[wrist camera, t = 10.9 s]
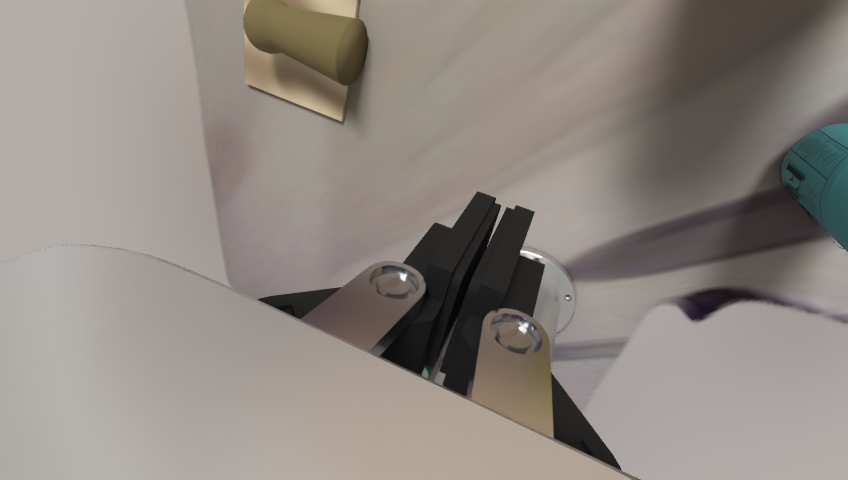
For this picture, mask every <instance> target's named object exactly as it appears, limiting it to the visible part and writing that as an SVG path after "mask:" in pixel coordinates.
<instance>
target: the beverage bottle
mask: <svg viewBox="0 0 848 480" xmlns="http://www.w3.org/2000/svg"><path fill="white" fill-rule="evenodd" d="M781 167H782V171H781V169H780V172H782V180H783V183H784V185H785V187H786V188H787V189H788V190H789V191H790V193H791V194H792V195H793V196H794V197H795V198H796V199H797V200H798V201H799V202H800V203H801V204H802V208H804V210H805V211H806V212H807V214H808V215H809V216H810V217H811V218H812V216H813V217H814V218H812V219H816V220H817V221H818V222H819V223H820V224H821V225H822V226H823V227H824V228H825V230H827V231H828V232H829V233H830V234H831V236H832V237H833V238H834V239H835V240H836V241H837V242H838V243H839V244H840V245H841V246H842V247H843V249H845V250H846V251H847V252H848V123H843V124H835V125H830V126H826V127H823V128H820V129H818V130H815V131H813V132H811V133H809V134H808V135H806V136H804V137H803V138H802V139H800V140H799V141H798V142H797V143H796V144H795V145H794V146H793V147H792V148H791V149H790V150H789V152H788V153H787V155H786V156H785V158H784V160H783V163H782V165H781ZM780 180H781V177H780ZM782 186H783V185H782ZM785 187H783V188H785ZM787 189H786V190H787ZM786 190H785V191H786ZM787 192H788V191H787ZM789 195H790V194H789ZM796 203H797V202H796ZM797 204H798V203H797ZM801 204H800V205H801ZM798 205H799V204H798ZM800 205H799V206H800ZM809 212H810V213H811V214H810V213H809ZM811 215H812V216H811ZM816 220H815V221H816ZM813 221H814V220H813ZM818 222H815V223H818ZM817 225H818V226H819V224H817ZM827 231H826V232H827ZM828 235H829V234H828ZM838 247H839V246H838ZM840 248H841V247H840Z"/></svg>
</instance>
